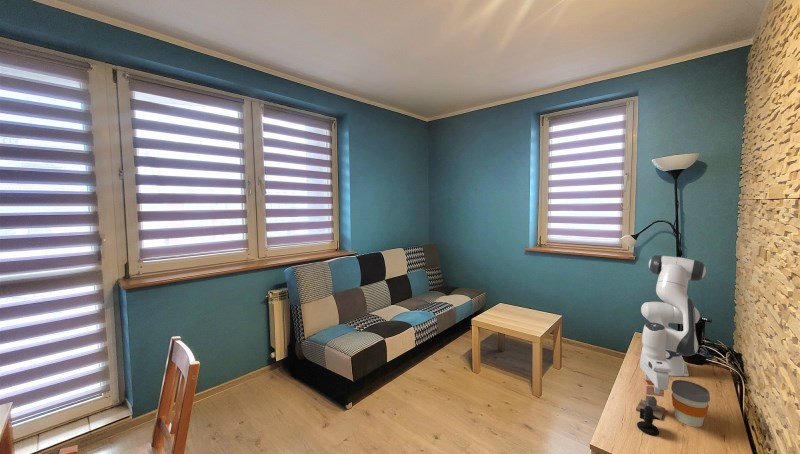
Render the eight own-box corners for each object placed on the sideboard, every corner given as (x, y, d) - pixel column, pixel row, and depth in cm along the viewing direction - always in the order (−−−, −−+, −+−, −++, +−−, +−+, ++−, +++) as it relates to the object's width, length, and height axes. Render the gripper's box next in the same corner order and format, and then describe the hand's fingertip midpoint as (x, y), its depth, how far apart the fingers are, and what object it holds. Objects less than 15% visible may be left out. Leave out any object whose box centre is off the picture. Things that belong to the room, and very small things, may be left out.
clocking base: (641, 401, 153) (641, 389, 152) (665, 410, 146) (665, 397, 145) (636, 410, 146) (636, 398, 146) (660, 420, 139) (661, 407, 139)
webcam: (637, 420, 139) (638, 399, 139) (659, 428, 135) (660, 406, 134) (636, 430, 133) (637, 408, 133) (659, 438, 129) (660, 415, 128)
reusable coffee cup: (662, 410, 146) (664, 379, 145) (690, 410, 145) (692, 379, 144) (686, 430, 133) (688, 396, 132) (716, 430, 133) (719, 396, 132)
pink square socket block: (640, 386, 149) (640, 378, 149) (657, 388, 147) (657, 380, 147) (646, 394, 143) (646, 385, 143) (663, 396, 141) (664, 388, 140)
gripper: (636, 348, 155) (635, 375, 156) (654, 368, 135) (653, 399, 136) (651, 350, 153) (650, 377, 154) (672, 371, 133) (671, 402, 134)
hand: (652, 388), depth 145 cm, fingers closed on pink square socket block, 7 cm apart
